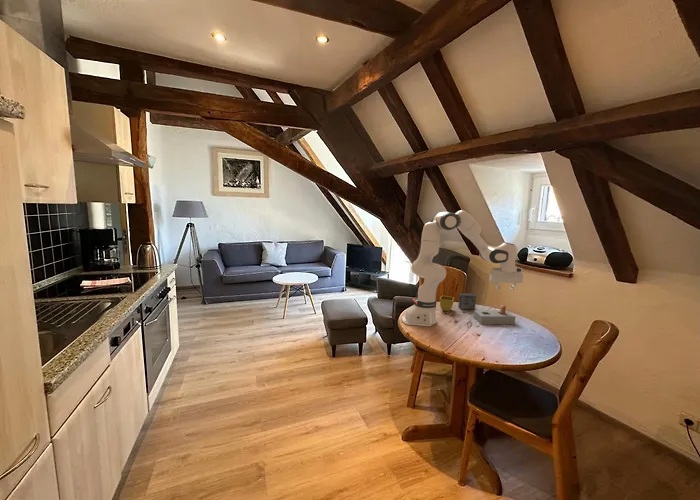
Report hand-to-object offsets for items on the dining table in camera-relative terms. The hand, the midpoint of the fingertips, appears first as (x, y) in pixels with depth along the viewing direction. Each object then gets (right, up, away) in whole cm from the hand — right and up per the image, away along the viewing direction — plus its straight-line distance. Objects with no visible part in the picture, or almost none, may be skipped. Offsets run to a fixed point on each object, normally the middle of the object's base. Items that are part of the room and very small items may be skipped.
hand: (504, 289), depth 202 cm
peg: (0, -21, +4) cm, 21 cm away
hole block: (-6, -21, +4) cm, 22 cm away
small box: (-15, -17, +26) cm, 35 cm away
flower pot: (-31, -18, +22) cm, 42 cm away
